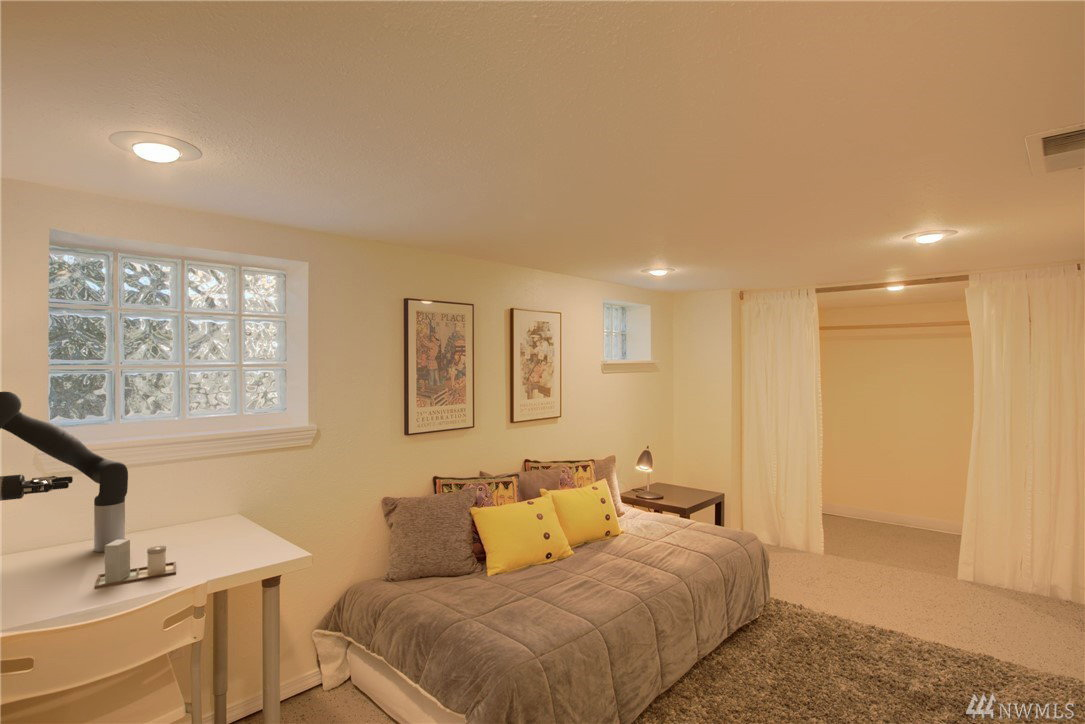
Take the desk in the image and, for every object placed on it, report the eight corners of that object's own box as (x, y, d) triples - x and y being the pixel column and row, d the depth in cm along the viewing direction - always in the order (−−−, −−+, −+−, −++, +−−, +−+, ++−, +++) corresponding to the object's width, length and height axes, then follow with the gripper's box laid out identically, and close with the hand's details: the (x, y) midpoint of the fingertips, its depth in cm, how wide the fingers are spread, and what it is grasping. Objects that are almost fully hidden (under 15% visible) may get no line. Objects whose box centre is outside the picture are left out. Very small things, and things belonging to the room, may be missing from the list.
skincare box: (116, 575, 182) (116, 539, 182) (130, 575, 183) (130, 538, 183) (104, 583, 176) (104, 545, 176) (118, 582, 177) (118, 545, 177)
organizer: (98, 580, 181) (98, 574, 181) (175, 566, 193) (175, 561, 193) (94, 591, 172) (94, 586, 172) (175, 577, 184) (175, 571, 184)
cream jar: (147, 571, 186) (147, 547, 186) (166, 568, 189) (166, 544, 189) (146, 576, 182) (146, 552, 182) (166, 573, 185) (166, 549, 185)
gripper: (-4, 480, 166) (67, 474, 175) (7, 472, 178) (73, 466, 187) (-4, 505, 166) (67, 498, 175) (8, 495, 178) (73, 489, 187)
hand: (70, 482), depth 181 cm, fingers open, 8 cm apart
